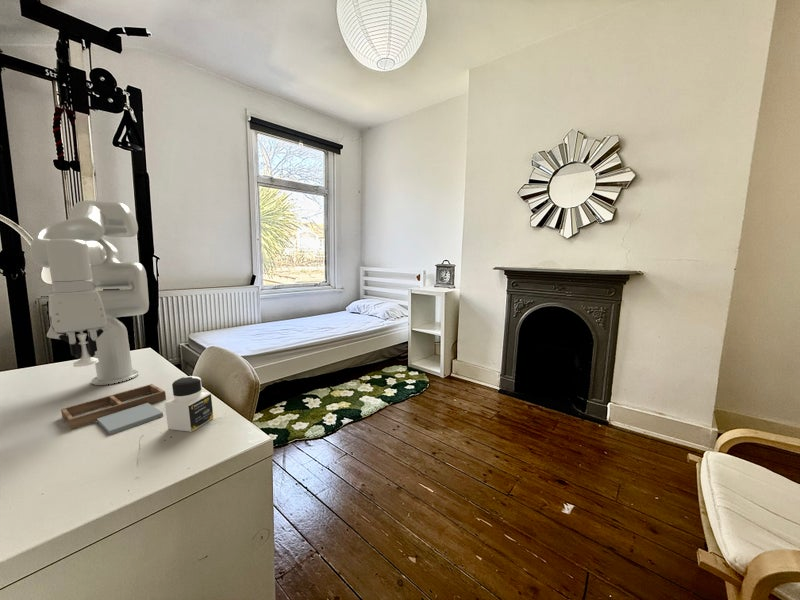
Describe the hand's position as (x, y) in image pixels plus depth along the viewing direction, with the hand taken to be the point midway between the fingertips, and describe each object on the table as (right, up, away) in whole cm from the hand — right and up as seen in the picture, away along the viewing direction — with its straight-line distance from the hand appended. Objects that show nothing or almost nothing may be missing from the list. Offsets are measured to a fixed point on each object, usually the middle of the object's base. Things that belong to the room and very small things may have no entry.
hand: (85, 355), depth 86 cm
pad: (+13, -17, -1) cm, 21 cm away
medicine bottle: (+31, -17, -4) cm, 35 cm away
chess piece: (0, -2, 0) cm, 2 cm away
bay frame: (+3, -16, +6) cm, 17 cm away
